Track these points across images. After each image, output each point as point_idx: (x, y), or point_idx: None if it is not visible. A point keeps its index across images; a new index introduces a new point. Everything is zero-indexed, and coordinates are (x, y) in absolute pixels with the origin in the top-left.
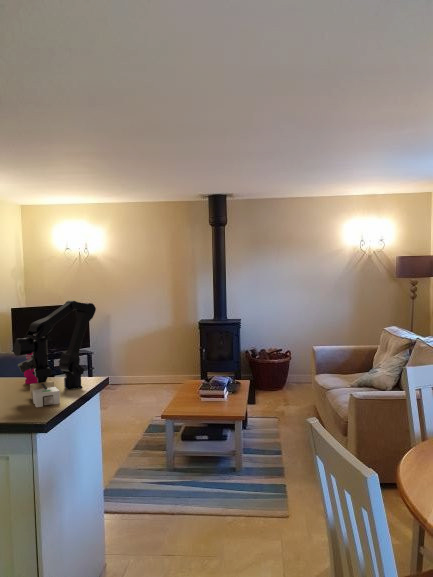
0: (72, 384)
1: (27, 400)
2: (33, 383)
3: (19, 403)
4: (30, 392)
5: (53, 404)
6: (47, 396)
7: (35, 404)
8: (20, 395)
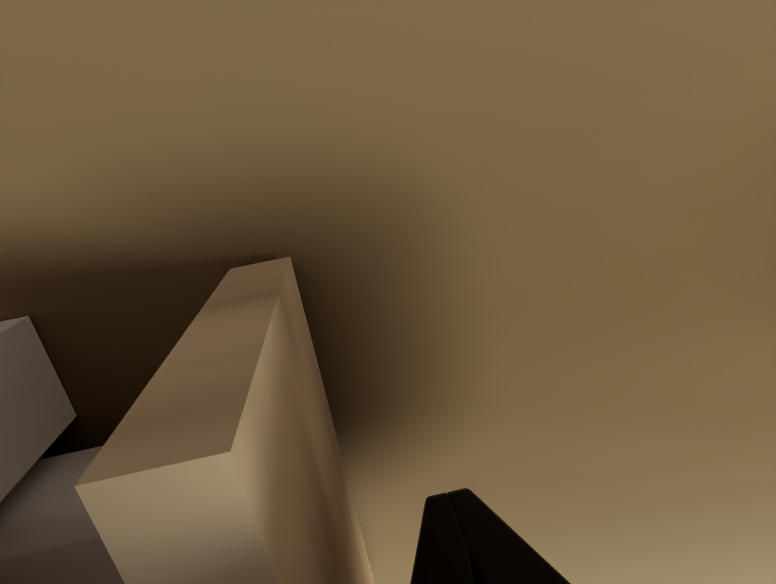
0: None
1: (235, 198)
2: None
3: (22, 36)
4: (250, 306)
5: None
6: None
7: None
8: (722, 27)
